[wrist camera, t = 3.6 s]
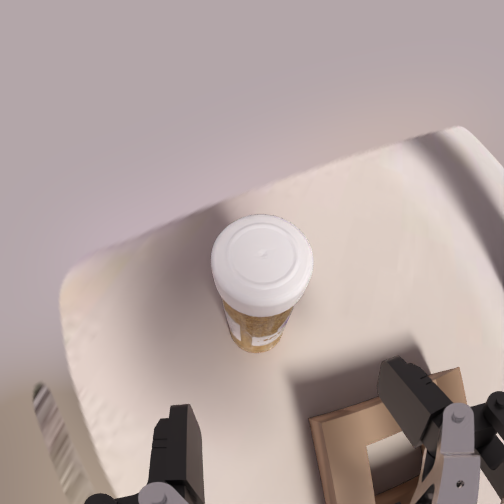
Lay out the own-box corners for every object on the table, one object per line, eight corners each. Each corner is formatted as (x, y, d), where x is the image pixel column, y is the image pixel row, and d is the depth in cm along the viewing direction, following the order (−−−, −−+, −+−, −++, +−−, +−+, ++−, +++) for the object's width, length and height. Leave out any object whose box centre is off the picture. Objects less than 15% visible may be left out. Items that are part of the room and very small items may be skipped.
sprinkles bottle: (278, 357, 23) (310, 313, 11) (224, 348, 23) (197, 293, 11) (286, 306, 25) (318, 218, 13) (235, 298, 25) (222, 203, 14)
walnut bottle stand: (431, 374, 22) (459, 366, 18) (447, 480, 16) (474, 486, 12) (308, 418, 20) (321, 423, 16) (331, 534, 15) (345, 554, 11)
